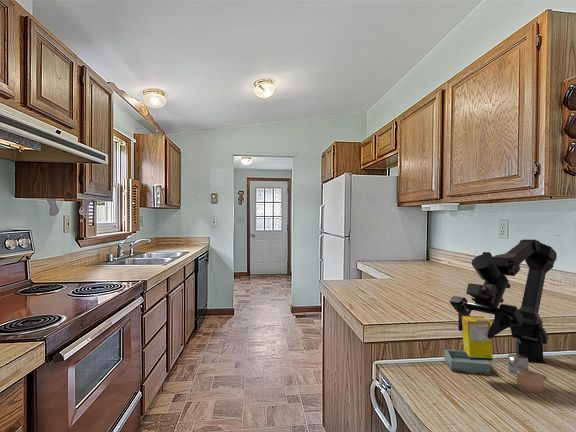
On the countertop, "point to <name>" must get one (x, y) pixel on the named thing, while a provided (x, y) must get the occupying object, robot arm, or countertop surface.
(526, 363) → the tin
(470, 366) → the tray
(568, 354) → the countertop surface
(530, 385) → the peach egg-shaped pebble
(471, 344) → the supplement box
